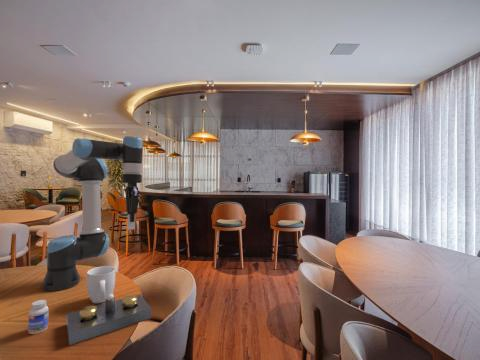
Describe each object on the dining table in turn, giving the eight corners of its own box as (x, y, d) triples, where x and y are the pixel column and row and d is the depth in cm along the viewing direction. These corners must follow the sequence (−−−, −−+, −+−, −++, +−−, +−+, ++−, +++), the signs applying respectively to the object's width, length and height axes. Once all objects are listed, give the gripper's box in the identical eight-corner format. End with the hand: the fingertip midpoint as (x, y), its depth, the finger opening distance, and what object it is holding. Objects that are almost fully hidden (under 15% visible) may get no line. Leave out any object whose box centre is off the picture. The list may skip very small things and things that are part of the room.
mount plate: (66, 324, 90) (66, 313, 90) (140, 303, 106) (140, 294, 106) (69, 345, 79) (69, 333, 79) (150, 318, 95) (151, 308, 95)
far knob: (120, 312, 97) (121, 297, 97) (134, 308, 100) (135, 293, 100) (124, 319, 93) (124, 303, 93) (138, 314, 96) (138, 299, 96)
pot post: (104, 310, 93) (104, 294, 93) (113, 307, 95) (114, 292, 94) (106, 314, 90) (106, 297, 90) (115, 311, 92) (115, 295, 92)
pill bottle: (24, 335, 83) (25, 307, 83) (33, 326, 88) (33, 299, 88) (43, 333, 85) (44, 305, 85) (51, 324, 90) (51, 297, 90)
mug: (117, 306, 103) (118, 275, 103) (86, 313, 97) (87, 280, 97) (113, 291, 116) (113, 264, 116) (85, 297, 110) (86, 268, 110)
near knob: (78, 325, 88) (79, 308, 88) (95, 320, 92) (95, 304, 92) (80, 332, 84) (80, 315, 84) (97, 327, 88) (97, 310, 88)
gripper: (119, 173, 107) (118, 227, 107) (126, 173, 96) (125, 233, 96) (137, 173, 111) (136, 225, 111) (146, 173, 101) (145, 231, 101)
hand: (131, 229), depth 104 cm, fingers closed
